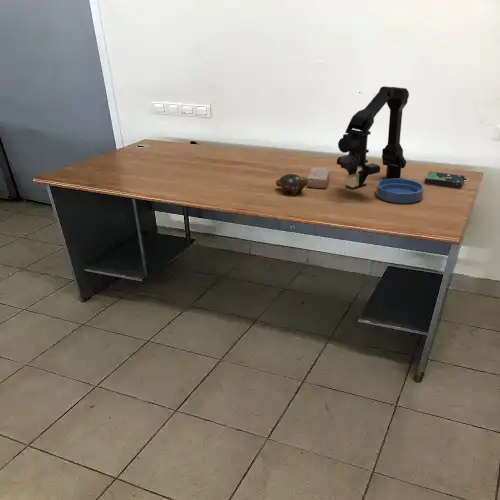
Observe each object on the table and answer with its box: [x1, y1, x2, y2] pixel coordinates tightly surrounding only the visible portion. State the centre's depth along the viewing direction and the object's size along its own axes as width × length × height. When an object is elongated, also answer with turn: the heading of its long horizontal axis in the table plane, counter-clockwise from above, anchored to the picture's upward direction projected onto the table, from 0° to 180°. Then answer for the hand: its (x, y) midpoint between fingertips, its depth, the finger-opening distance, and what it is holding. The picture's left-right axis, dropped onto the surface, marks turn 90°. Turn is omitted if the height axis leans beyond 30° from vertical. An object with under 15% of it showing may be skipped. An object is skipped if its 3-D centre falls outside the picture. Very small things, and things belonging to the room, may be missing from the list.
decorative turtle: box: [275, 173, 308, 197], centre depth 210 cm, size 10×15×8 cm, turn 58°
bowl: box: [375, 178, 425, 205], centre depth 205 cm, size 18×18×4 cm
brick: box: [306, 167, 330, 189], centre depth 221 cm, size 17×8×5 cm, turn 167°
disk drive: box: [424, 171, 466, 189], centre depth 218 cm, size 10×3×15 cm
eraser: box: [344, 172, 368, 191], centre depth 204 cm, size 8×4×5 cm, turn 125°
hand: (356, 185), depth 205 cm, fingers closed on eraser, 4 cm apart
